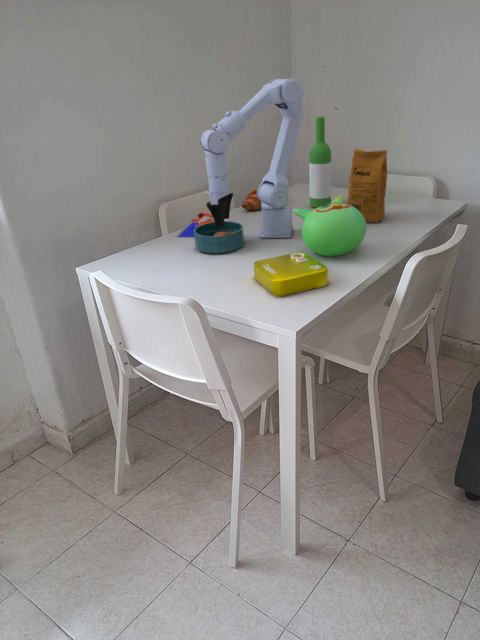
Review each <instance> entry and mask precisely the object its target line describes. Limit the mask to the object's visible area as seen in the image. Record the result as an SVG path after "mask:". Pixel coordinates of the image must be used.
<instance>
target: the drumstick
mask: <svg viewBox="0 0 480 640" xmlns="http://www.w3.org/2000/svg"><path fill="white" fill-rule="evenodd" d="M232 233H234V232H217V233H215V234H214V236H223V235H228V234H232Z"/></svg>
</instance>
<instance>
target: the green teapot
mask: <svg viewBox="0 0 480 640" xmlns="http://www.w3.org/2000/svg"><path fill="white" fill-rule="evenodd" d="M343 200H344V196H343V195H342V194H340V195H338V196H336V197H335V199H333V200H332V201H331V204H327V205H323V206H320V207H318V208H315V209H305V208H294V209H292V213H293V214H295V215H296V216H297V217H299V218H300V219H302V220H303V222H302V225H301V237H302V240H303V242H304V244H305V246H306V247H307V248H308V249H309V250H310V251H311V252H313V253H315V254H317V255H321V256H326V257H335V256H341V255H345V254H347V253H350V252H352V251H354V250H355V249H356V248H358V247H359V246H360V245H361V244H362V242H363V241H364V238H365V236H366V233H367V223H366V222H365V219H364V217H363V215H362V214H361V212H360V211H359V210H357V209H356V208H355V207H353V206H350V205H347V203H343Z"/></svg>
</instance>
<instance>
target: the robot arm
mask: <svg viewBox="0 0 480 640" xmlns="http://www.w3.org/2000/svg"><path fill="white" fill-rule="evenodd" d="M304 93H305V91H304V89H303V87H302V85H301V83H300V82H299V81H298V80H297V79H296V78H278V77H276V78H275V77H274V78H272V79H271V80H269V82H268V83H265V84H264V85H263V86H262V88H261V89H260V90H259V91H258V92H257V93H256V94H255V95H254V96H253V97H252V98H251V99H250V100H248V102H246V104H244V105H243V106H242V107H241V108H240V109H239V110H231V111H226V112H225V113H224V118H222V119H221V120H219V121H218V123H214V124H212V129H207V130H205V131H204V132H203V133H202V134H201V137H200V141H199V145H200V147H201V148H202V149H203V151H204V156H205V158H204V159H205V166H206V173H207V182H208V190H206V191H205V196H209V197H210V198H209V200H210V201H207V202H206V208H207V209H208V210H209V212H210V214H212V216H213V217H212V219H213V222H215V224H216V227H223V226H224V221H225V220H229V218H230V213H231V204H232V200H233V196H234V193H233V192H231V190H230V187H229V186H230V185H229V176H228V167H227V165H228V164H227V158H226V152H227V151H226V150H227V149H228V147H229V144H230V142H232V141H233V140H234V139H235V138H236V137H237V136H239V135H240V134H241V133H243V131H244V130H246V126H247V122H248V121H249V120H250V119H252V118H253V117H254V116H255V115H257V114H258V113H260V112H261V111H262V110H263V109H265V108H266V107H267V106H268V105H269V106H270V105H274V106H275V107H276V108H277V109H278V110H279V112H280V114H281V116H282V121H281V124H280V128H279V132H278V135H277V140H276V144H275V147H274V151H273V155H272V159H271V162H270V166H269V170H268V172H267V173H265V175H264V176H263V178H262V181H261V183H260V184H259V186H258V187H257V188H256V189H257V197H258V199H259V200H260V201H261V207H262V209H261V220H262V221H261V222H262V232H261V234H260V238H261V239H282V238H283V239H286V238H289V239H290V238H291V236H292V233H293V231H294V229H293V227H294V224H293V209H292V206H291V205H287V203H288V200H289V186H290V184H289V181H288V179H287V175H288V171H289V167H290V164H291V162H292V161H291V160H292V158H293V155H294V149H295V146H296V143H297V138H298V136H299V131H300V128H301V125H302V121H303V117H304V109H303V96H304Z"/></svg>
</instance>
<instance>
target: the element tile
mask: <svg viewBox="0 0 480 640" xmlns="http://www.w3.org/2000/svg"><path fill="white" fill-rule="evenodd" d="M328 268H329V267H327V266H326V265H325V264H323V263H321V262H320V261H319V260H318V259H315V258H314V257H312V256H311V255H309V254H308V253H306V252H305V251H304V252H303V251H296V252H292V253H288V254H282V255H279V256H274V257H269V258H266V259H259V260H256V261H254V263H253V272H254V279H255V280H256V281H257V282H258V283H259V284H260V285H261V286H262V287H263V288H265V289H266V290H267V291H268V292H269V293H270V294H271V295H273V296H274V297H286V296H290V295H293V294H294V295H295V294H298V293H301V292H302V293H303V292H305V291H310V290H314V289H319V288H323V287H325V286H327V285H328V283H329V269H328Z"/></svg>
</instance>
